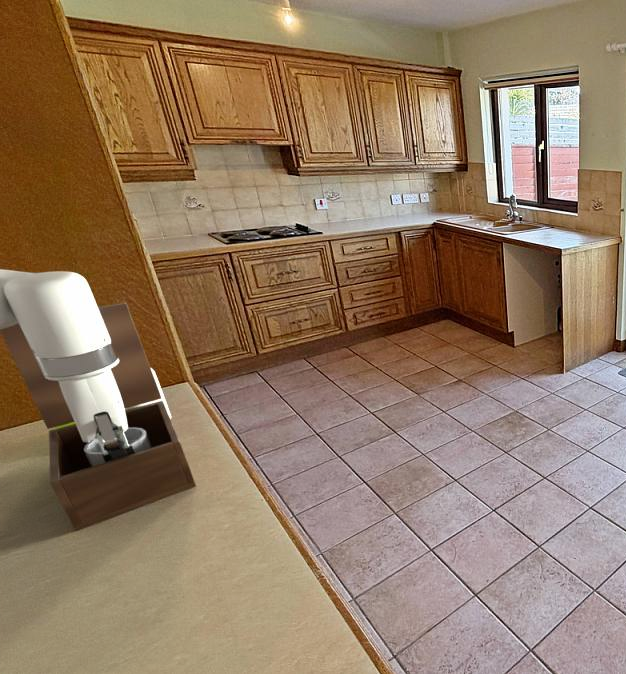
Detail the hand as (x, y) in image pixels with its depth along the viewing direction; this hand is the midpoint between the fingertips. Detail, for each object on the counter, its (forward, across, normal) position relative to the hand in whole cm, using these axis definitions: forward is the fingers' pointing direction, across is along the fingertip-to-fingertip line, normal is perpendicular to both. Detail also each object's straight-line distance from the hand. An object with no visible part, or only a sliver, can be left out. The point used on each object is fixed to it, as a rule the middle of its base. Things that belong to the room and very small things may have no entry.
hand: (123, 459), depth 74 cm
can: (+5, -20, +4) cm, 21 cm away
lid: (-13, -10, 0) cm, 16 cm away
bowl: (+1, 0, 0) cm, 1 cm away
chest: (+5, -2, 0) cm, 5 cm away
